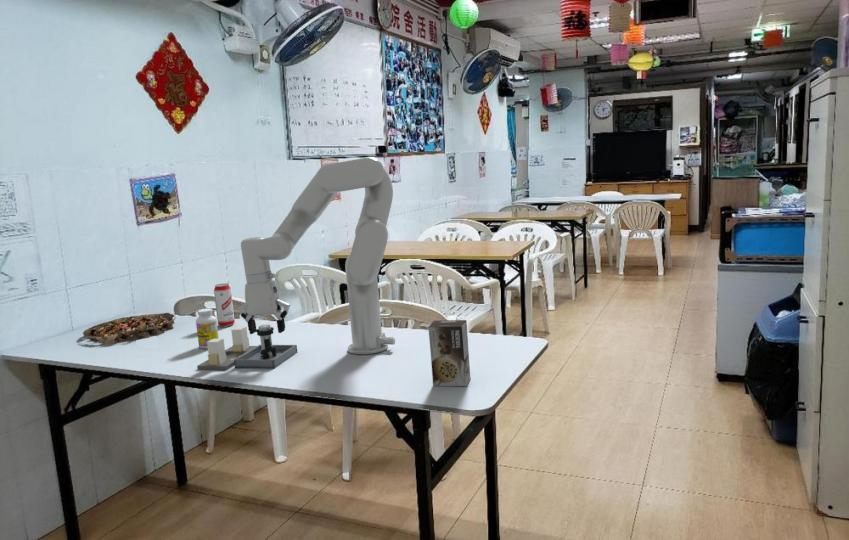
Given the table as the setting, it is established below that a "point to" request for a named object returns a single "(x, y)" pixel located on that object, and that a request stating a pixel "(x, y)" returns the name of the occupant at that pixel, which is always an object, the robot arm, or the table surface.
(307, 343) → the table surface
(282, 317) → the robot arm
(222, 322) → the beer can
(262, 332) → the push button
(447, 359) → the printed cardboard box
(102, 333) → the food dish
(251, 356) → the tray
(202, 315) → the supplement bottle
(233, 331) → the block
